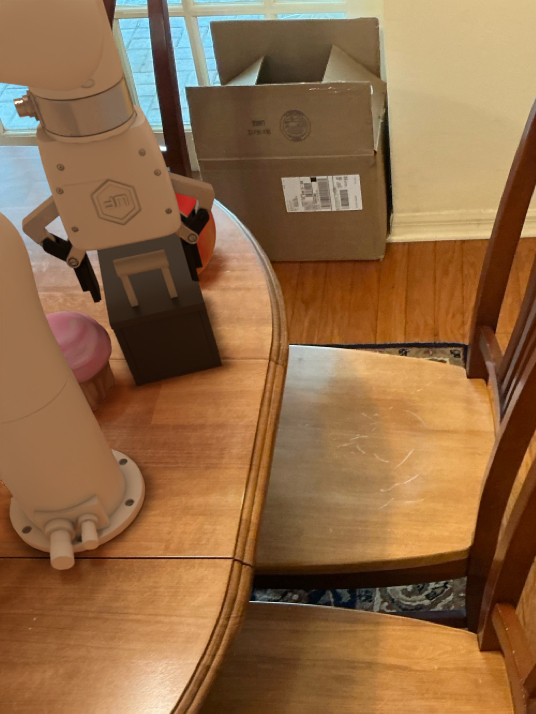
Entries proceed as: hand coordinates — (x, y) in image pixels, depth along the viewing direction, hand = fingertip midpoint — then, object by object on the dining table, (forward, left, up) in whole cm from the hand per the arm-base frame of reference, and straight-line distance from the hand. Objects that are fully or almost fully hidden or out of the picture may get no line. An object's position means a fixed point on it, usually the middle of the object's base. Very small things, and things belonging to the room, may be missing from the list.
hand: (146, 284), depth 77 cm
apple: (+18, -4, -12) cm, 22 cm away
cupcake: (-1, +10, -12) cm, 15 cm away
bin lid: (+5, 0, -3) cm, 6 cm away
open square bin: (+5, 0, -11) cm, 12 cm away
